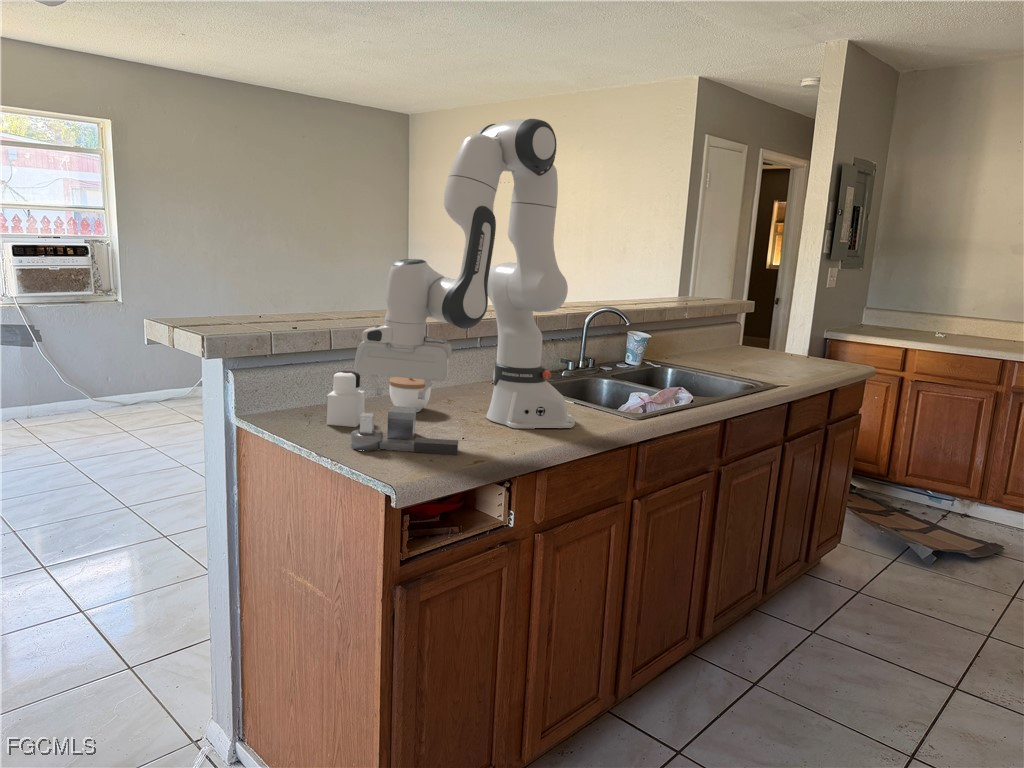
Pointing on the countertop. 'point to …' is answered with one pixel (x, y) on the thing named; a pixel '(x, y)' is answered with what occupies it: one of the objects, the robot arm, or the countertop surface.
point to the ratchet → (373, 440)
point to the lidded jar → (408, 392)
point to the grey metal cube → (401, 422)
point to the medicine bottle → (345, 400)
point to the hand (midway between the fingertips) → (399, 397)
